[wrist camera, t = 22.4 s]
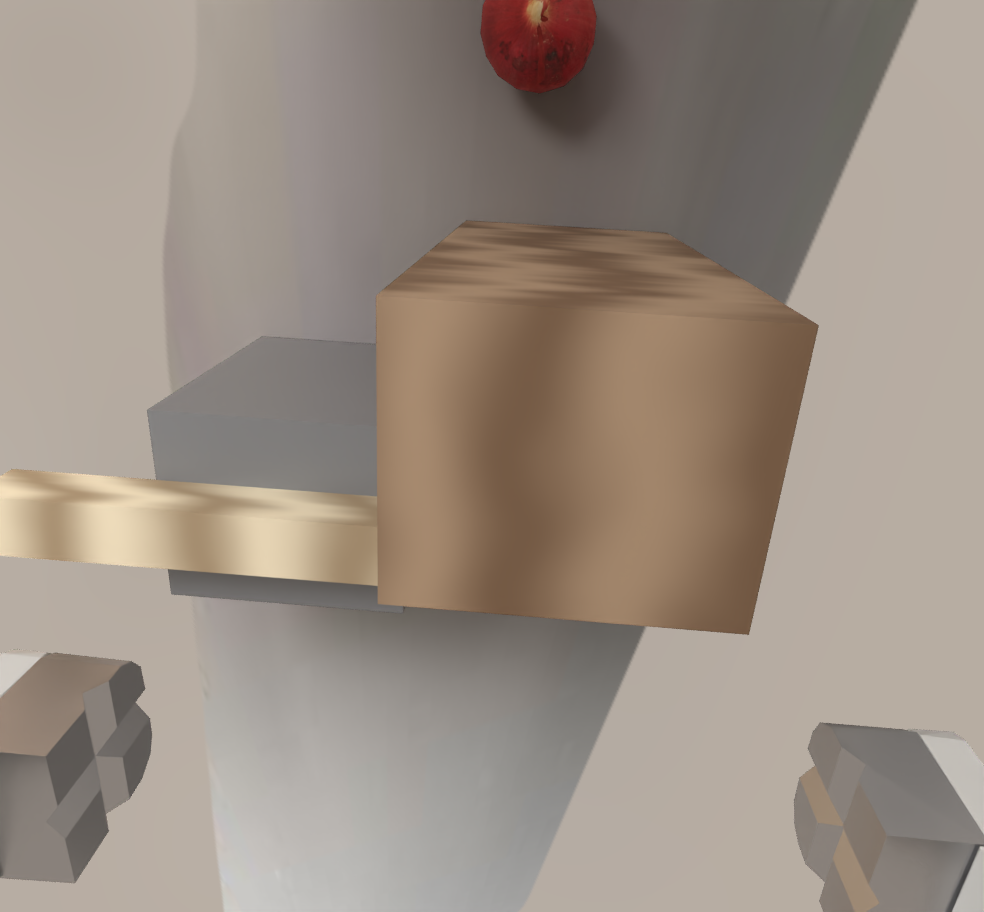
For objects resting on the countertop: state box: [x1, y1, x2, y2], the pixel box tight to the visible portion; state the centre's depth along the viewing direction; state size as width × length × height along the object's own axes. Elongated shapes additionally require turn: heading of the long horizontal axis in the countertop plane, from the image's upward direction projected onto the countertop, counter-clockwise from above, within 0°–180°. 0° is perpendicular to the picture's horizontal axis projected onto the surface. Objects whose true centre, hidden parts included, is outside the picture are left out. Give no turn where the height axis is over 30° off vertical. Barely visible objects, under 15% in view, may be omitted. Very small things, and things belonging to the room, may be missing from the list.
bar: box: [0, 469, 378, 586], centre depth 34 cm, size 20×3×3 cm, turn 87°
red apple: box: [481, 0, 597, 93], centre depth 37 cm, size 6×6×8 cm
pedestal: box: [376, 221, 818, 635], centre depth 34 cm, size 12×10×26 cm
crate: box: [147, 337, 405, 613], centre depth 42 cm, size 12×10×15 cm
